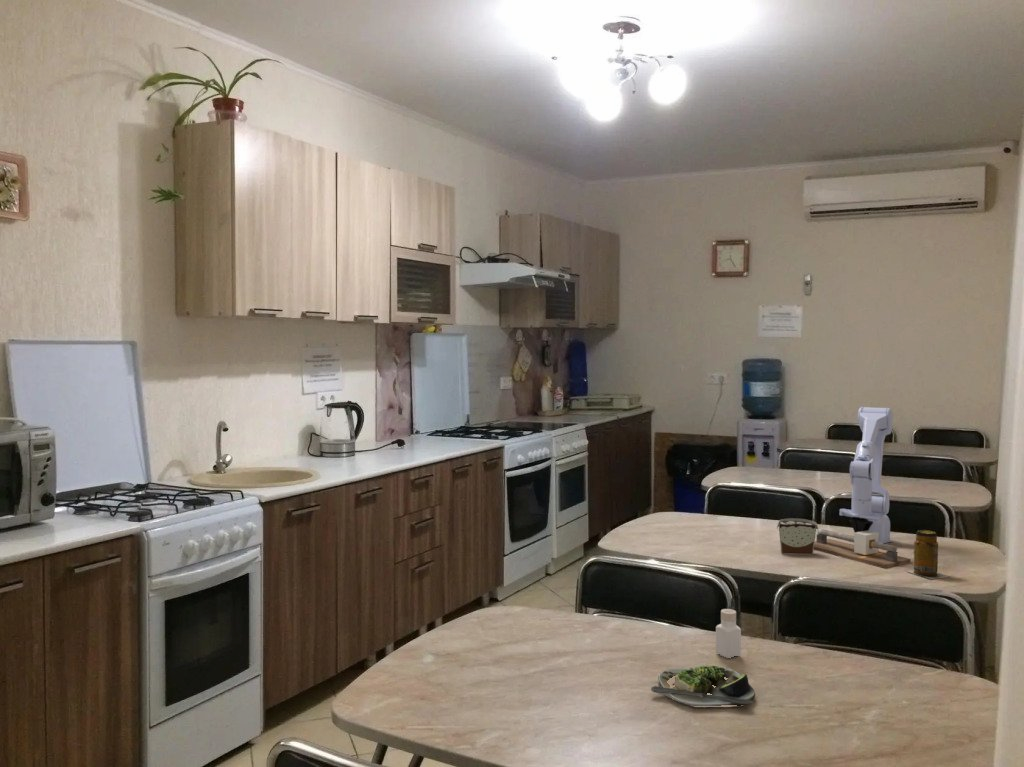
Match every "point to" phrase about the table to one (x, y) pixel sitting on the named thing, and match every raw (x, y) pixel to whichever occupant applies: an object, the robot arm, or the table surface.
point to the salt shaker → (728, 635)
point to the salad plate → (706, 686)
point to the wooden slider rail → (848, 552)
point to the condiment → (926, 555)
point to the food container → (797, 536)
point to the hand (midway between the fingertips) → (860, 542)
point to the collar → (865, 542)
